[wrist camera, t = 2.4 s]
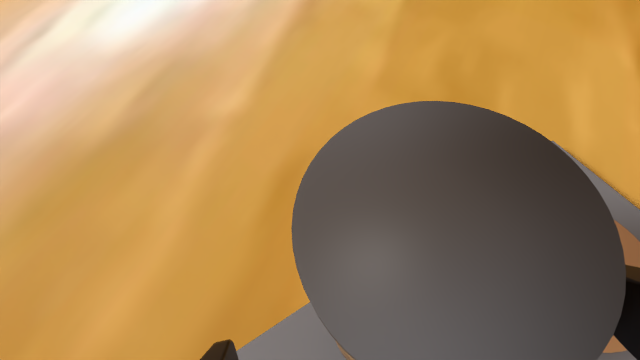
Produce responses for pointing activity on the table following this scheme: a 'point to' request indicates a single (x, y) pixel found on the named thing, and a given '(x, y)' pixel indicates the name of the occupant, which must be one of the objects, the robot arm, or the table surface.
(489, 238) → the beige cylindrical canister
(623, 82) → the table surface
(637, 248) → the subfloor panel
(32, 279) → the table surface
